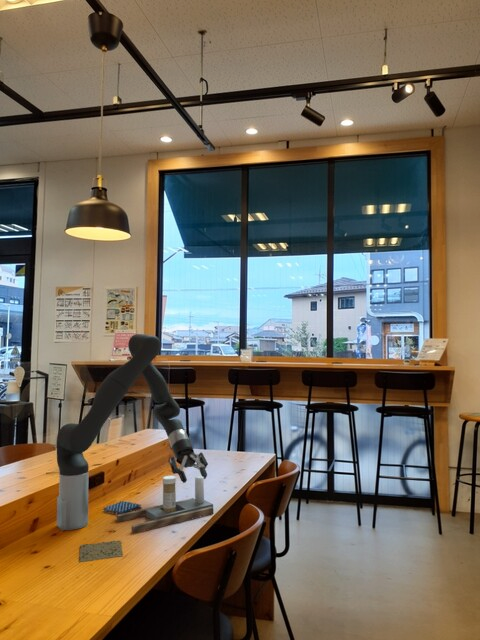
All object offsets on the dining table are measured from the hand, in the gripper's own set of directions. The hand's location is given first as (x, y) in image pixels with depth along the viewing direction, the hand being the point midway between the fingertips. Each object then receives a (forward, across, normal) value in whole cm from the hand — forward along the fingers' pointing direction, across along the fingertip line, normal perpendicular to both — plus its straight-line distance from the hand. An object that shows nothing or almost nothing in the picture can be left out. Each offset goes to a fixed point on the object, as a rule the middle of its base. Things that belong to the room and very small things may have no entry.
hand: (195, 479), depth 175 cm
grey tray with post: (+9, -8, +4) cm, 13 cm away
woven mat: (-2, -23, +17) cm, 29 cm away
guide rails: (+9, -14, +4) cm, 17 cm away
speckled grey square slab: (+20, -42, -5) cm, 46 cm away
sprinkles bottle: (+10, -12, +5) cm, 16 cm away
